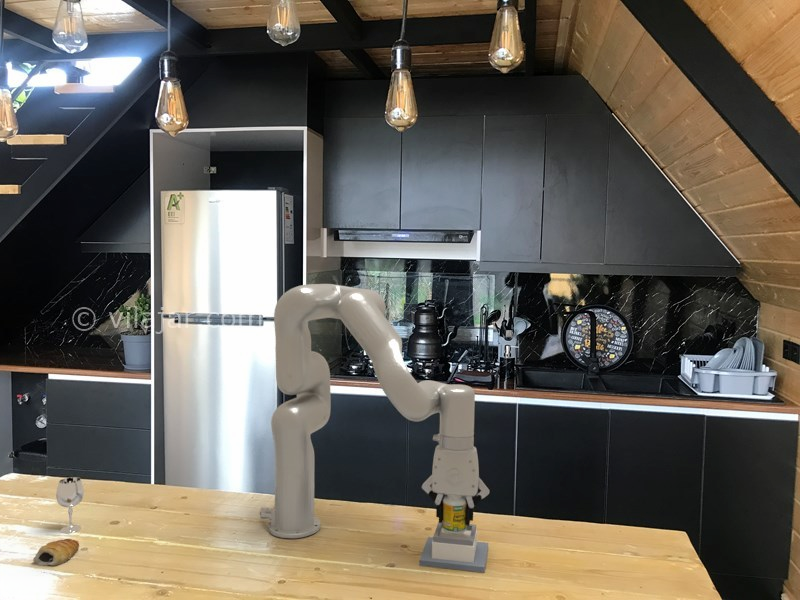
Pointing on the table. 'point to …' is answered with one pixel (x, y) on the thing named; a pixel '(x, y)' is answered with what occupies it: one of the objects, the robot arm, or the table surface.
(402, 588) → the table surface
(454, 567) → the display stand
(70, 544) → the pastry
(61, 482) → the wineglass
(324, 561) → the table surface
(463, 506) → the supplement bottle
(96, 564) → the table surface
